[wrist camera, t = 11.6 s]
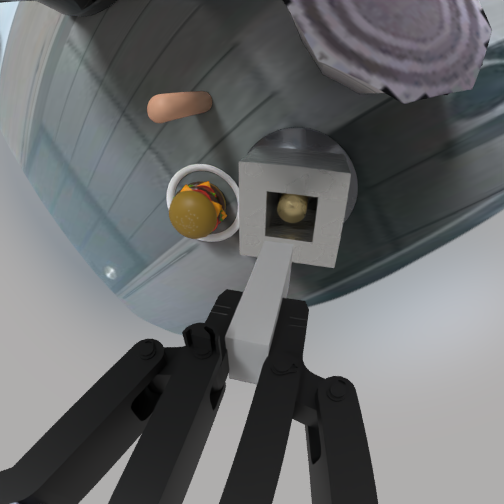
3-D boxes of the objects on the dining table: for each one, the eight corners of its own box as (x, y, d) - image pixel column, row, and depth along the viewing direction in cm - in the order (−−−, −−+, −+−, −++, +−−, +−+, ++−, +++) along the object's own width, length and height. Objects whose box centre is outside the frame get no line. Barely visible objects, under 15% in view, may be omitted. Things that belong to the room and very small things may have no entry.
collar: (256, 221, 27) (239, 254, 22) (257, 145, 23) (238, 161, 18) (333, 232, 26) (334, 268, 21) (344, 154, 22) (350, 173, 17)
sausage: (187, 107, 23) (142, 115, 17) (197, 87, 22) (153, 89, 16) (205, 116, 24) (165, 128, 18) (216, 97, 22) (177, 101, 16)
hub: (222, 196, 28) (199, 222, 23) (280, 104, 22) (267, 106, 17) (311, 254, 29) (307, 291, 24) (379, 175, 23) (394, 198, 18)
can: (383, -26, 12) (416, -88, 2) (446, 77, 16) (524, 79, 6) (275, 11, 17) (234, -46, 7) (340, 115, 21) (357, 132, 11)
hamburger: (171, 246, 34) (149, 271, 29) (150, 152, 28) (120, 167, 23) (265, 251, 31) (253, 282, 27) (257, 143, 25) (241, 155, 20)
